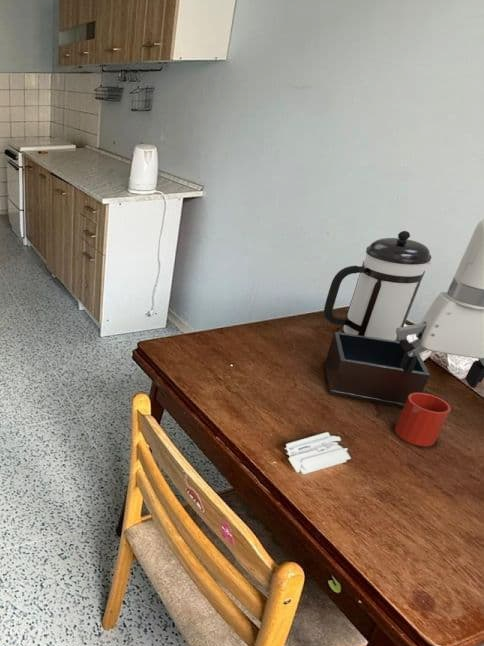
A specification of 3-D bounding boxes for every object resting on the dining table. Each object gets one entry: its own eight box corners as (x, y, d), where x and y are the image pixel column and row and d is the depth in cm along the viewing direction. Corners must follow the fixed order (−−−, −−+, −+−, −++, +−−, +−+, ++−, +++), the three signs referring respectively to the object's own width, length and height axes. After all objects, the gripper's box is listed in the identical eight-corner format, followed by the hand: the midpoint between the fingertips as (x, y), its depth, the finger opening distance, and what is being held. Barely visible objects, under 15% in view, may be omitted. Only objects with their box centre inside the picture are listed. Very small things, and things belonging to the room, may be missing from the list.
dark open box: (400, 376, 110) (414, 343, 106) (414, 410, 99) (430, 374, 95) (324, 363, 116) (334, 331, 112) (329, 393, 105) (341, 359, 101)
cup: (429, 429, 94) (445, 397, 90) (438, 450, 89) (455, 416, 85) (391, 421, 97) (405, 389, 93) (398, 441, 91) (412, 408, 88)
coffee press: (349, 322, 135) (382, 218, 120) (412, 345, 122) (457, 232, 108) (313, 339, 127) (345, 230, 113) (377, 365, 115) (421, 247, 100)
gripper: (535, 292, 78) (489, 377, 86) (410, 277, 85) (378, 357, 93) (556, 311, 72) (505, 400, 81) (420, 293, 79) (385, 377, 87)
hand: (437, 377), depth 87 cm, fingers open, 9 cm apart
